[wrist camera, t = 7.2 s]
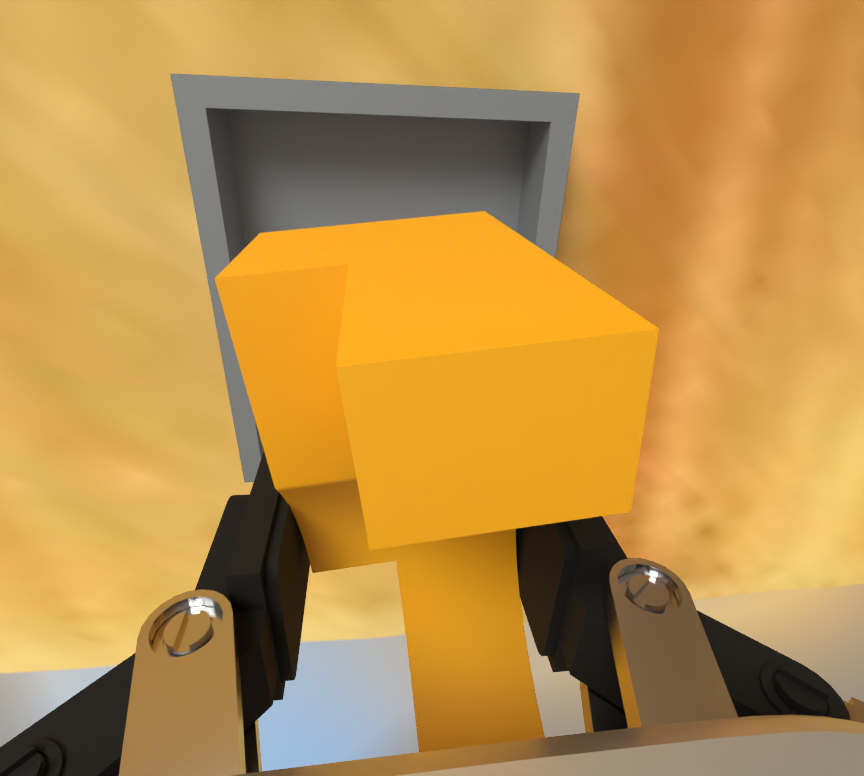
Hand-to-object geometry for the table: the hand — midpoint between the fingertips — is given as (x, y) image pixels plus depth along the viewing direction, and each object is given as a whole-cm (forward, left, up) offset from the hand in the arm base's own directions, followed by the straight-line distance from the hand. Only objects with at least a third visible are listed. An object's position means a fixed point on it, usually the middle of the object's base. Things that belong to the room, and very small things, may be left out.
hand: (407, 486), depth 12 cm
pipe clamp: (0, 0, -1) cm, 1 cm away
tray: (0, 0, -16) cm, 16 cm away
